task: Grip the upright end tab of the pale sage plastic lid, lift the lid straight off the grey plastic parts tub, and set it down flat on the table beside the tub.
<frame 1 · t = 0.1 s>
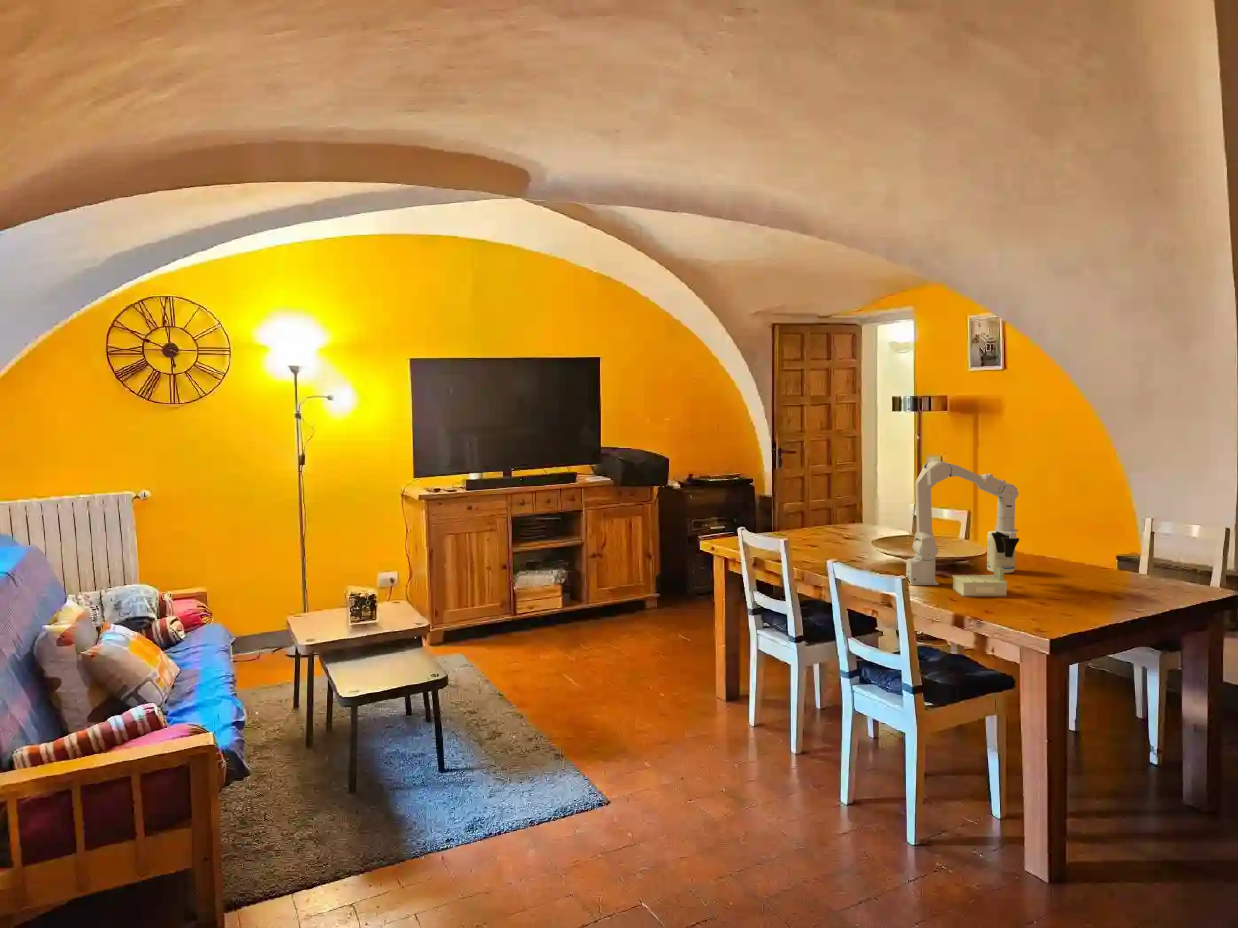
hand: (1004, 554, 292), 10 cm above the table, tool pointing down, fingers open, 7 cm apart
parts tub: (979, 592, 280), on the table
lid: (979, 580, 280), point 4 cm above the table, touching parts tub
supplement tub: (1000, 571, 311), on the table
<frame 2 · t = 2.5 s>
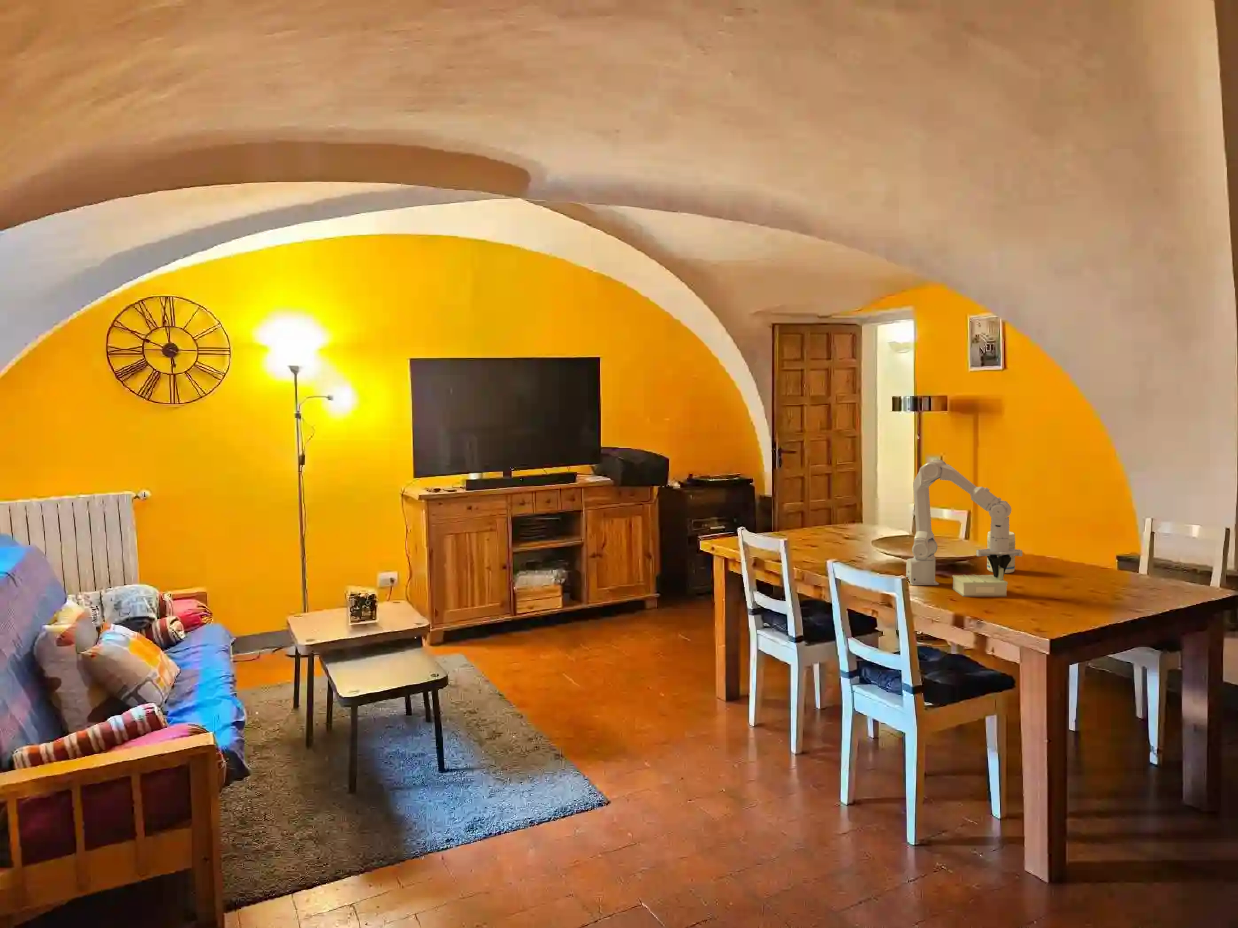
hand: (998, 576, 280), 5 cm above the table, tool pointing down, fingers closed on lid
lid: (979, 580, 280), point 4 cm above the table, touching gripper, parts tub
everything else where it was.
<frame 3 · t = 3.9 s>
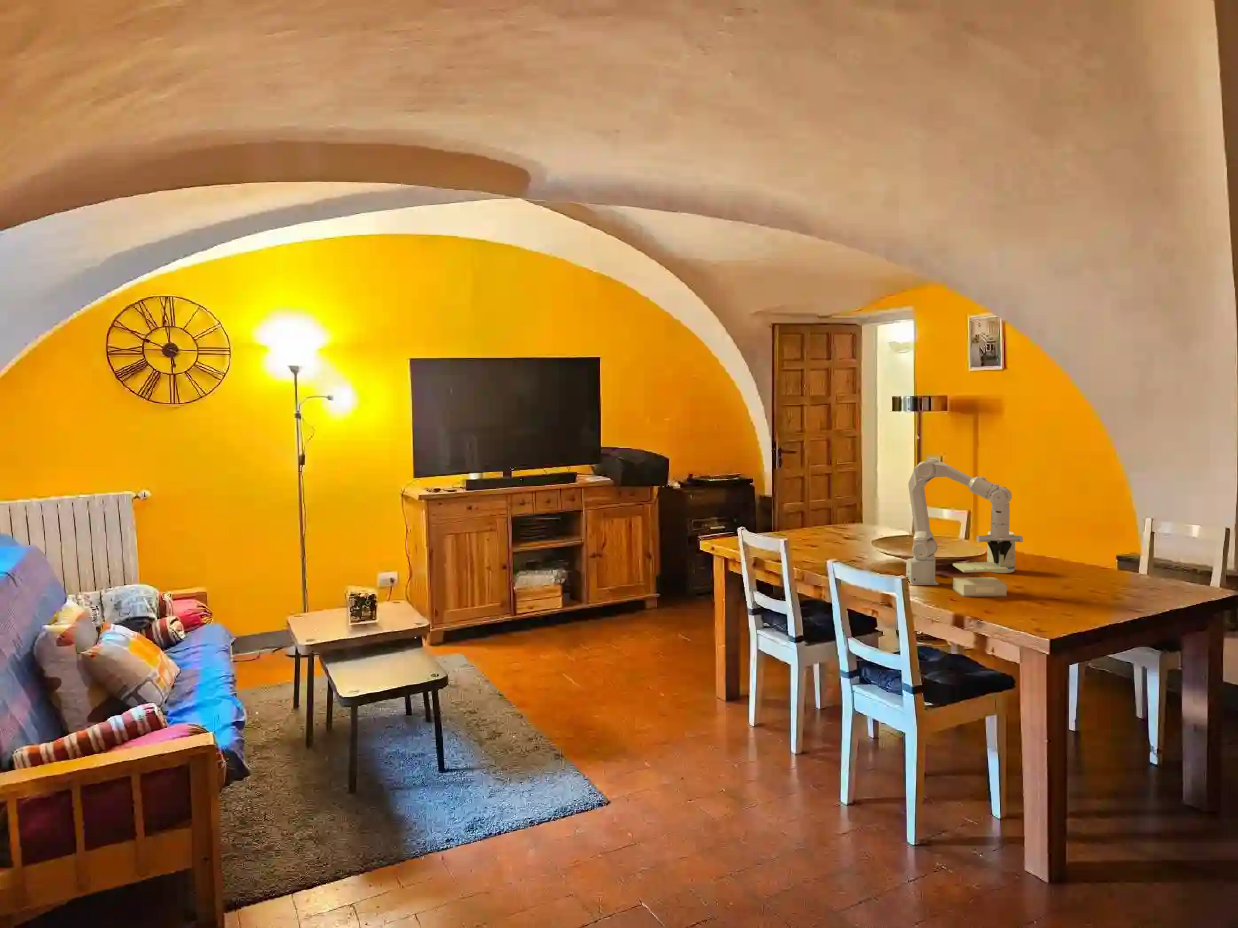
hand: (998, 562, 279), 10 cm above the table, tool pointing down, fingers closed on lid
lid: (979, 568, 280), point 8 cm above the table, touching gripper
everything else where it was.
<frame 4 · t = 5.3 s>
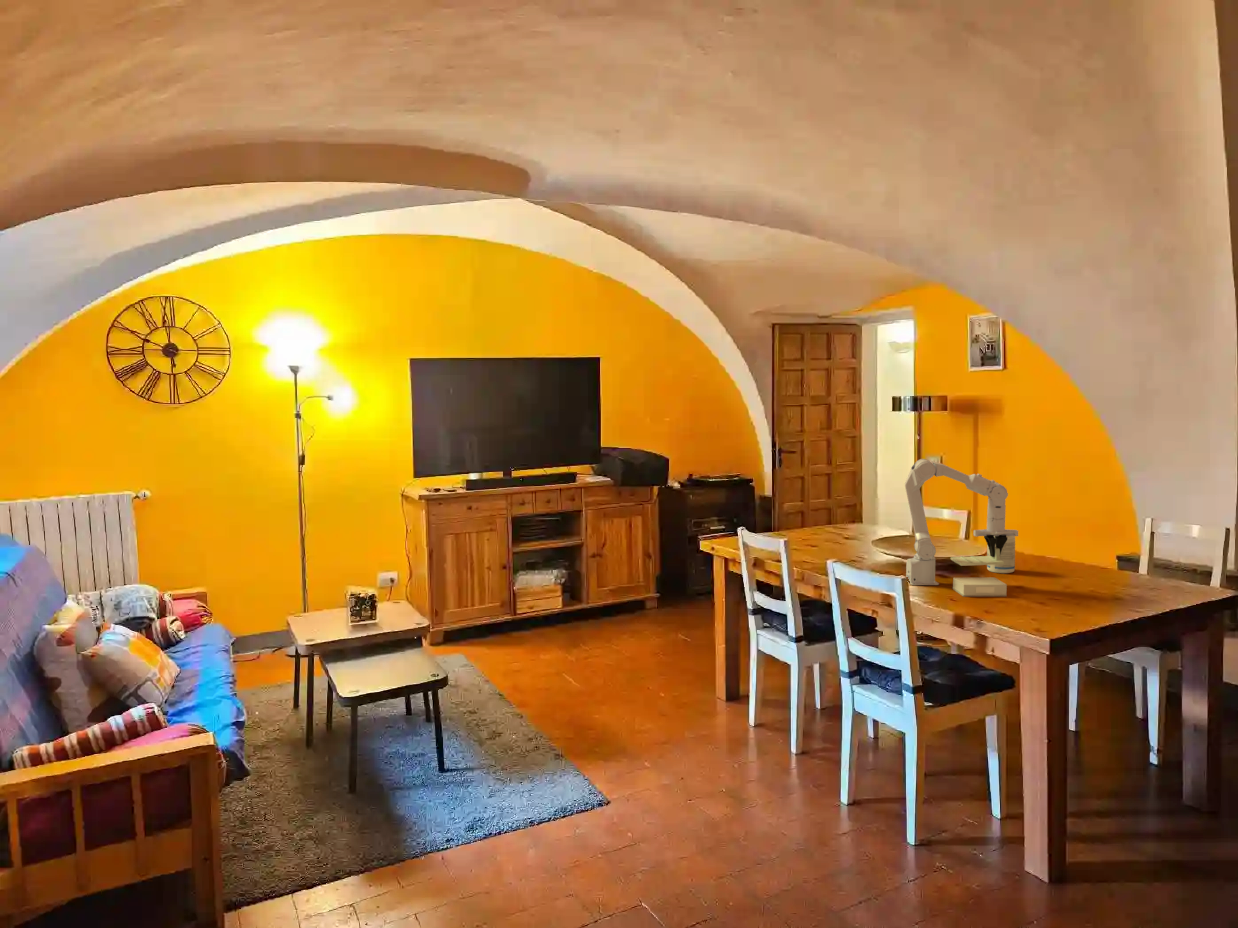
hand: (995, 556, 288), 10 cm above the table, tool pointing down, fingers closed on lid
lid: (976, 561, 289), point 9 cm above the table, touching gripper
everything else where it was.
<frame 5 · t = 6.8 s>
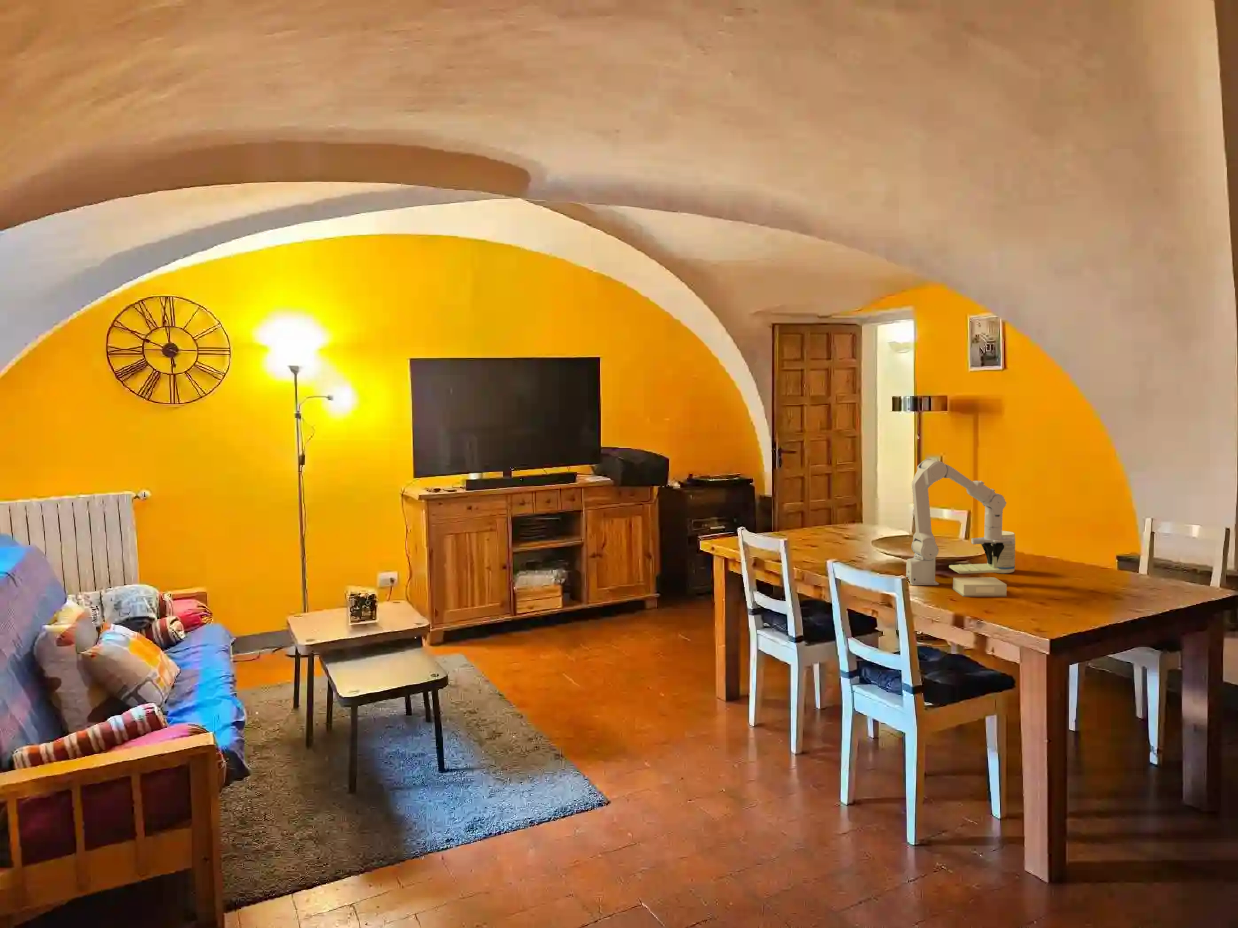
hand: (992, 563, 295), 6 cm above the table, tool pointing down, fingers closed on lid
lid: (974, 569, 296), point 4 cm above the table, touching gripper
everything else where it was.
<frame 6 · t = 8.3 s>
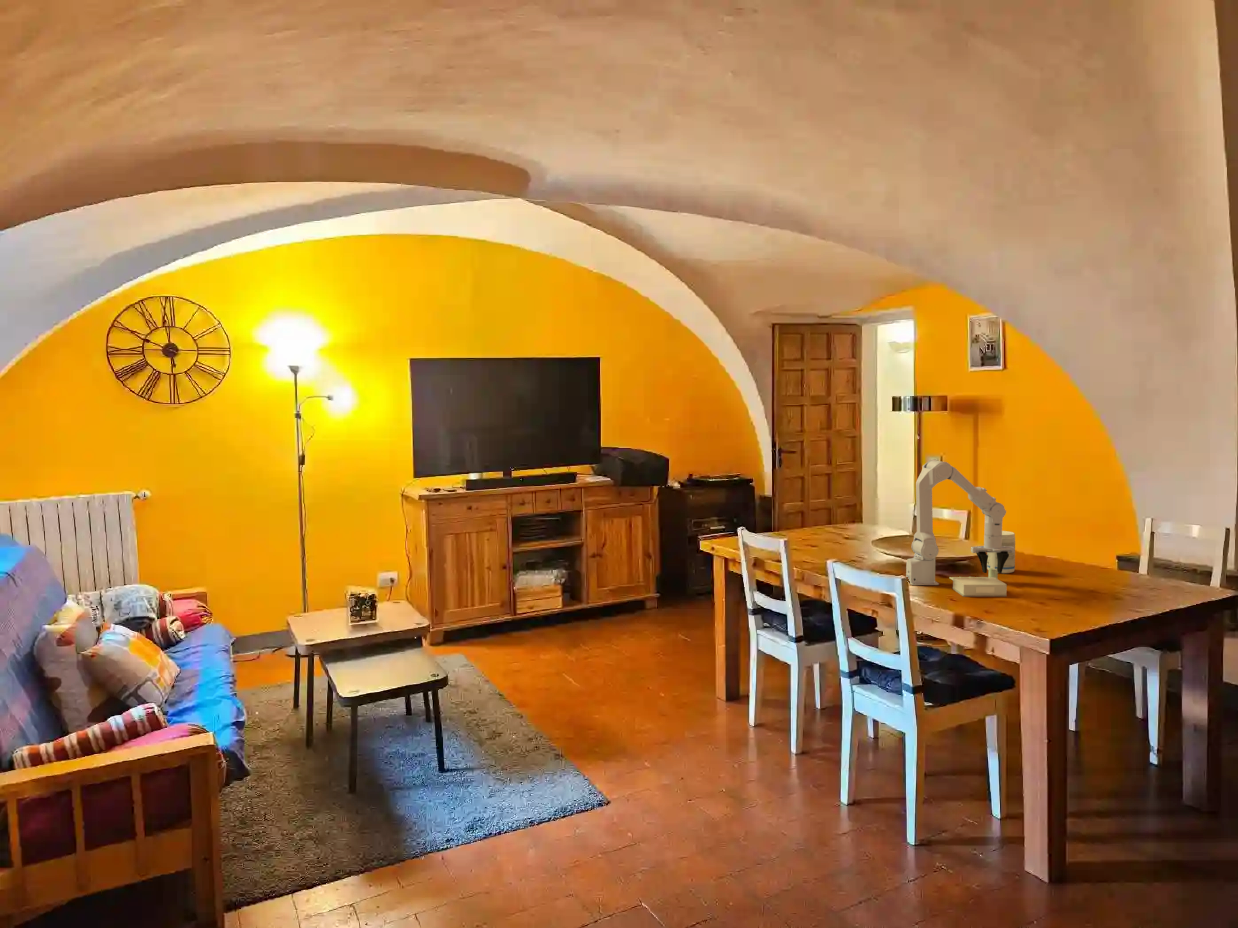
hand: (992, 572, 295), 3 cm above the table, tool pointing down, fingers open, 5 cm apart
lid: (974, 582, 296), on the table
everything else where it was.
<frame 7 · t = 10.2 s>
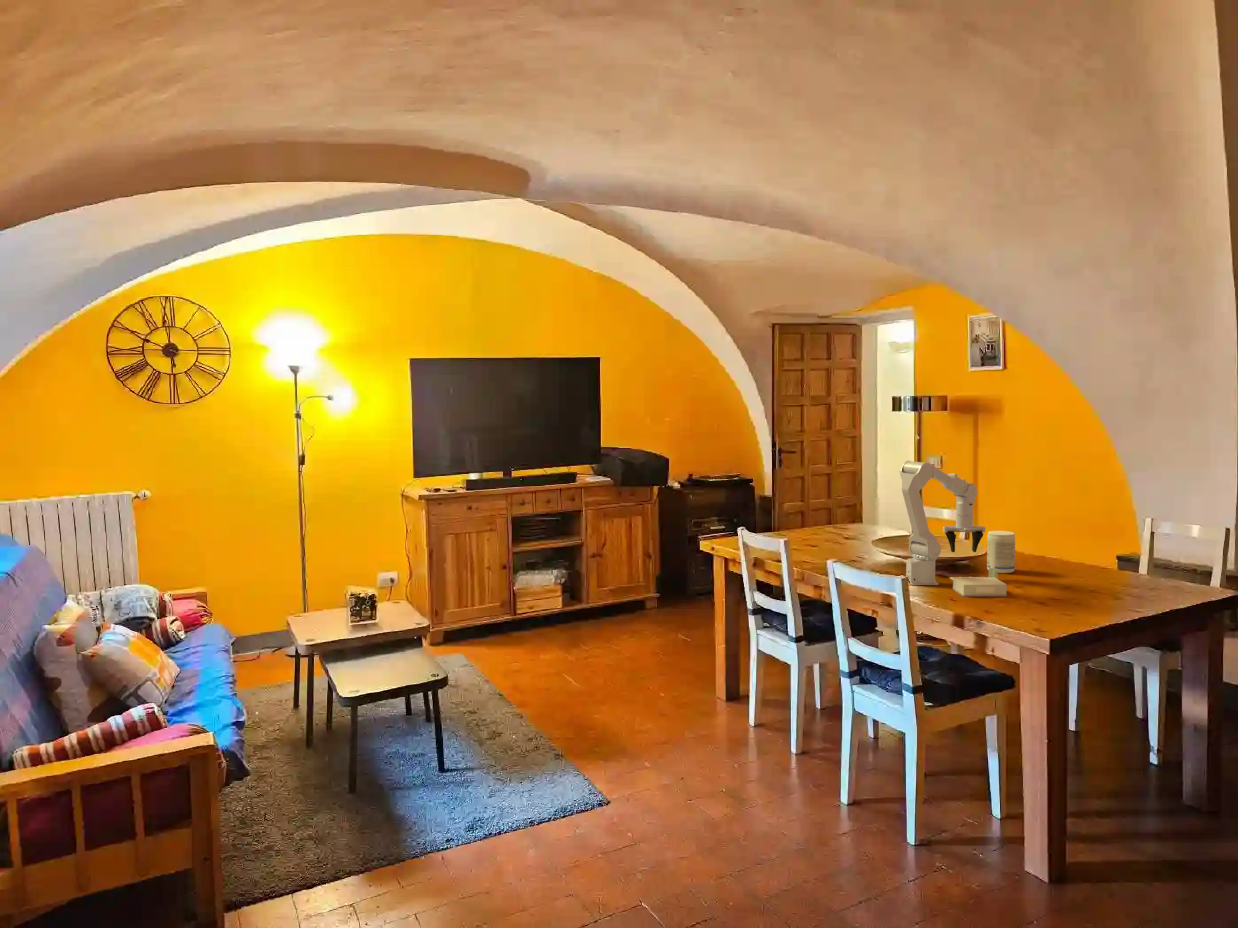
hand: (963, 551, 302), 9 cm above the table, tool pointing down, fingers open, 7 cm apart
nothing on the table moved.
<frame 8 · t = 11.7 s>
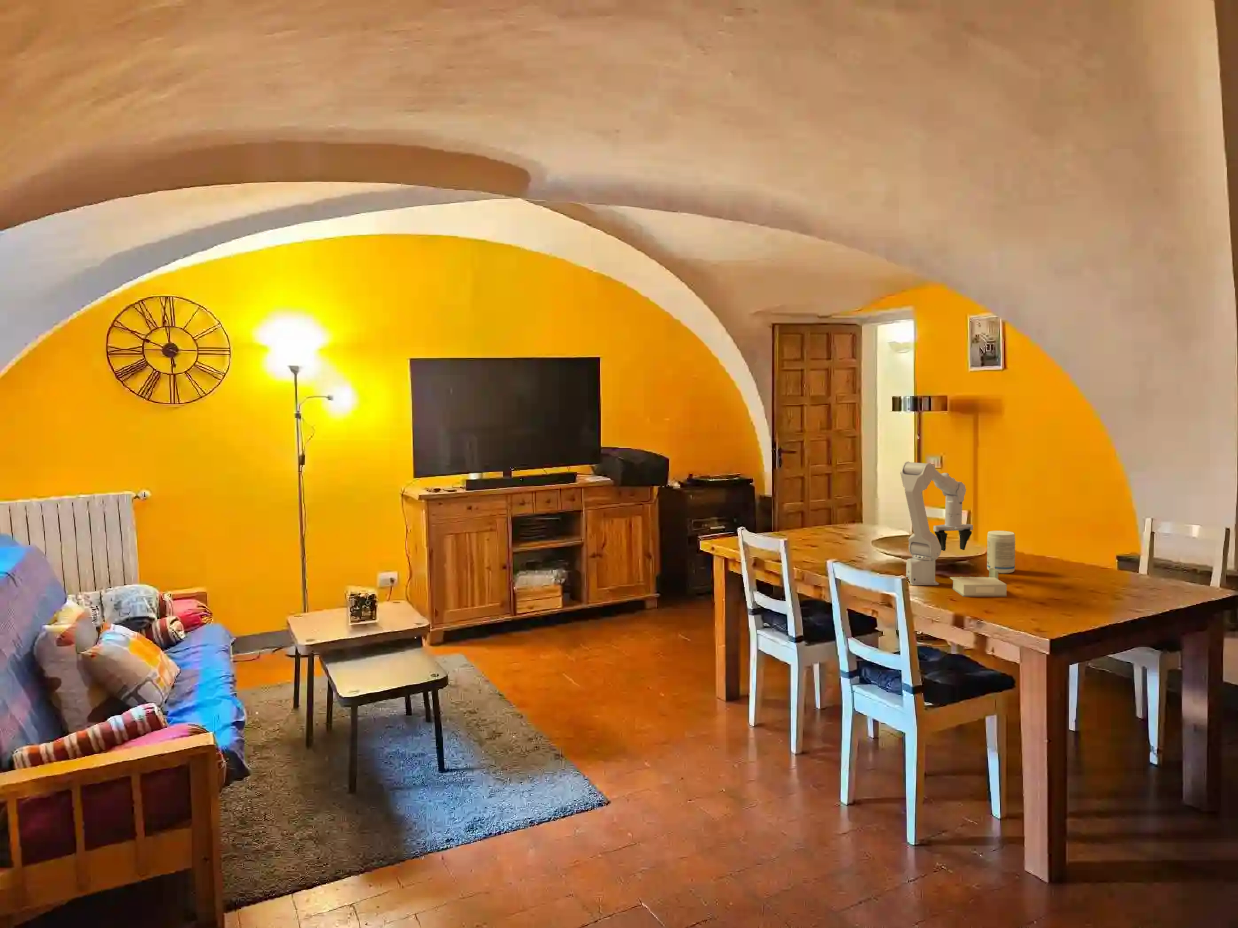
hand: (952, 549, 305), 9 cm above the table, tool pointing down, fingers open, 7 cm apart
nothing on the table moved.
at the end: lid touching table; lid inside the target area (0.3 cm from its centre), on the table; lid tilted 0° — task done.
